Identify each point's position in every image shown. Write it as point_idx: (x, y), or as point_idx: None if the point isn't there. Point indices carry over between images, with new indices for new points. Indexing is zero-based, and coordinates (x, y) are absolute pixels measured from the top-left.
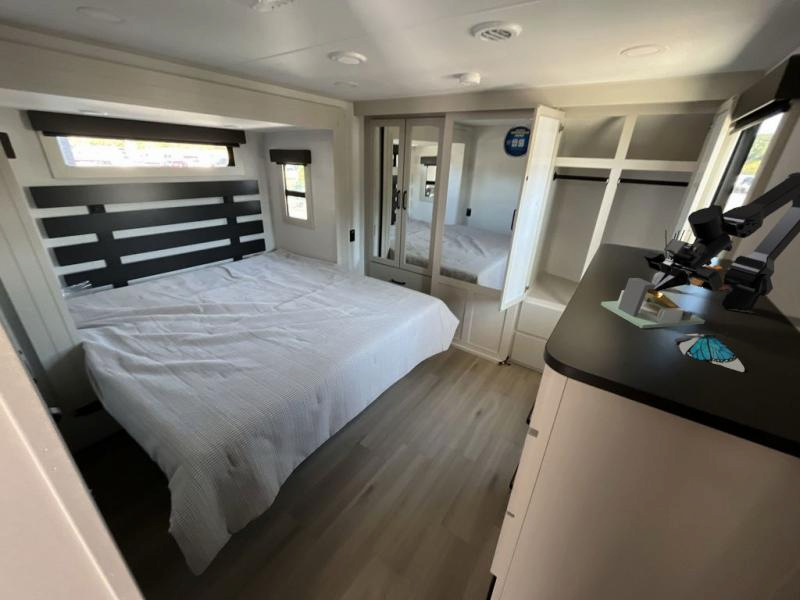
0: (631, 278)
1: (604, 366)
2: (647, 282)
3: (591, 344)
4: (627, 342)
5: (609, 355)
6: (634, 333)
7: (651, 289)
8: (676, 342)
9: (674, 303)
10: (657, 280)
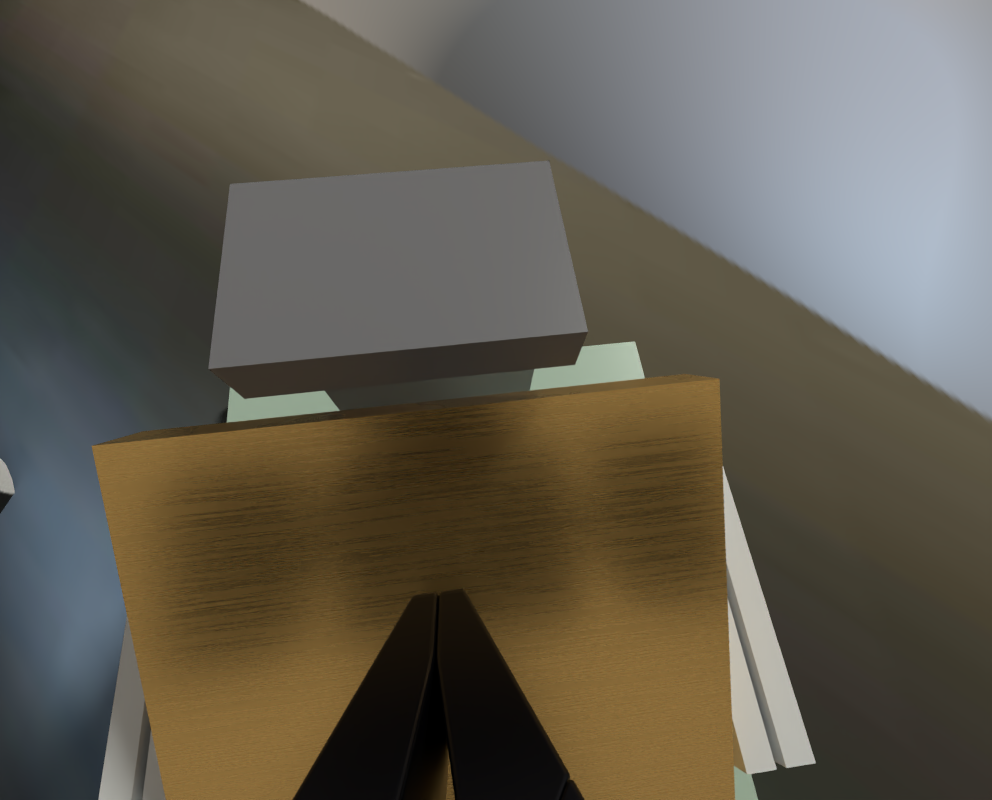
0: (541, 188)
1: (22, 20)
2: (339, 310)
3: (172, 56)
4: (132, 201)
5: (73, 71)
6: (201, 301)
7: (306, 424)
8: (11, 487)
9: (168, 787)
10: (504, 727)
